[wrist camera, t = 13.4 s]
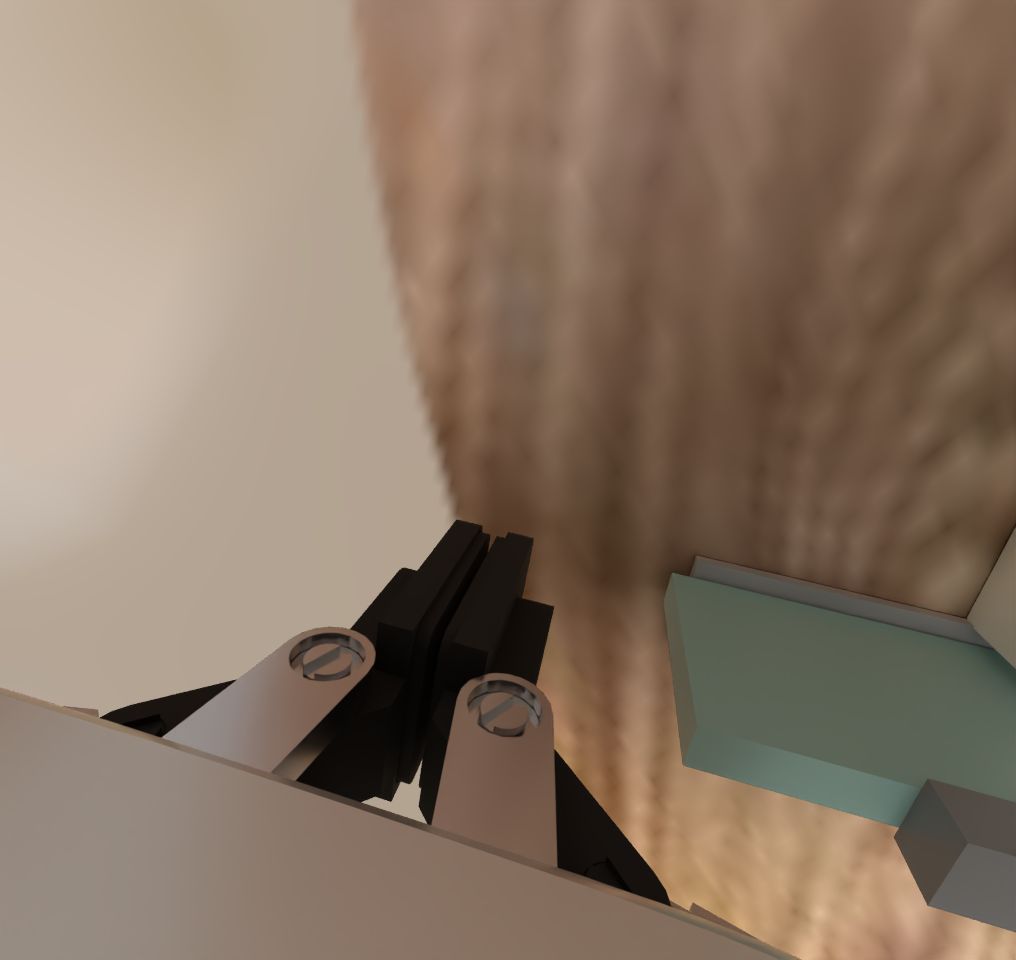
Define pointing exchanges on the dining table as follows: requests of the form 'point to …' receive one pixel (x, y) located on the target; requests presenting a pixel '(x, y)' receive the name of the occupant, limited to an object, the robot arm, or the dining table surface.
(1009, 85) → the dining table surface
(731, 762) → the gate
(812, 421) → the dining table surface
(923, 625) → the housing
